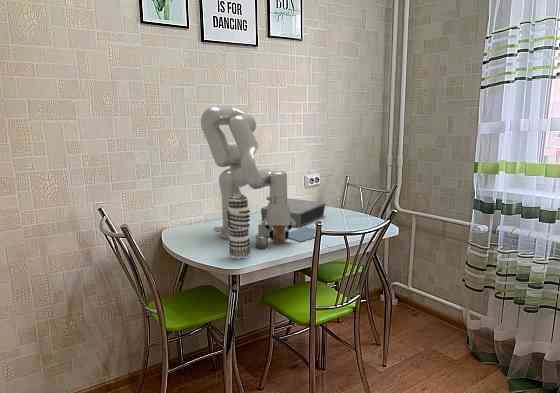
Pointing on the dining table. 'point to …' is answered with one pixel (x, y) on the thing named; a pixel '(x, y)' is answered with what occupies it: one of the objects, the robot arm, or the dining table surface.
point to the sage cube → (263, 229)
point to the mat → (302, 234)
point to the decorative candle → (239, 226)
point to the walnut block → (278, 234)
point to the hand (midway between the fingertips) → (279, 239)
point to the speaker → (301, 211)
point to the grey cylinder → (261, 241)
